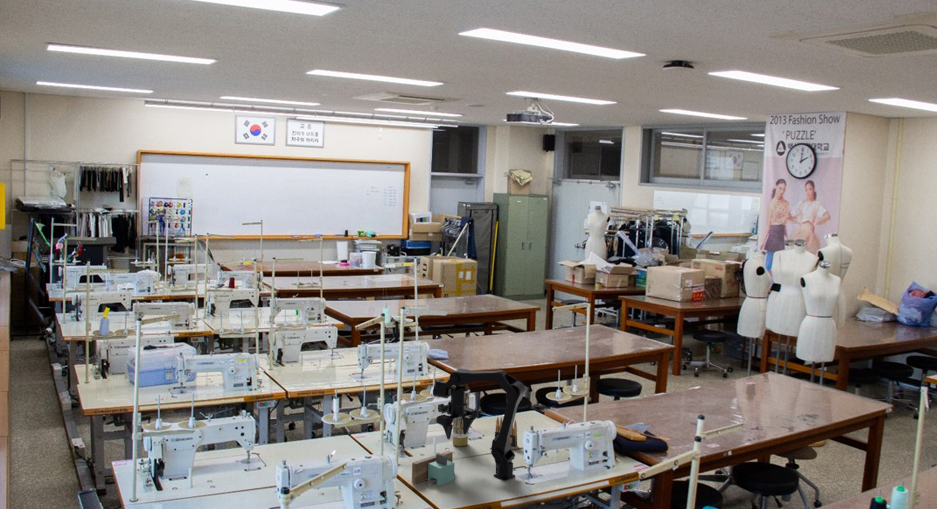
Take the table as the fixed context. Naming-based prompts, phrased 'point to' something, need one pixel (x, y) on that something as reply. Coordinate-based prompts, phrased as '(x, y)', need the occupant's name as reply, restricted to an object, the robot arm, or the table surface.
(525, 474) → the table surface
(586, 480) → the table surface
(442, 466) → the teal handled box
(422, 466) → the brown wooden beam
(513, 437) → the ammunition clip
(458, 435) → the bark textured cylinder
